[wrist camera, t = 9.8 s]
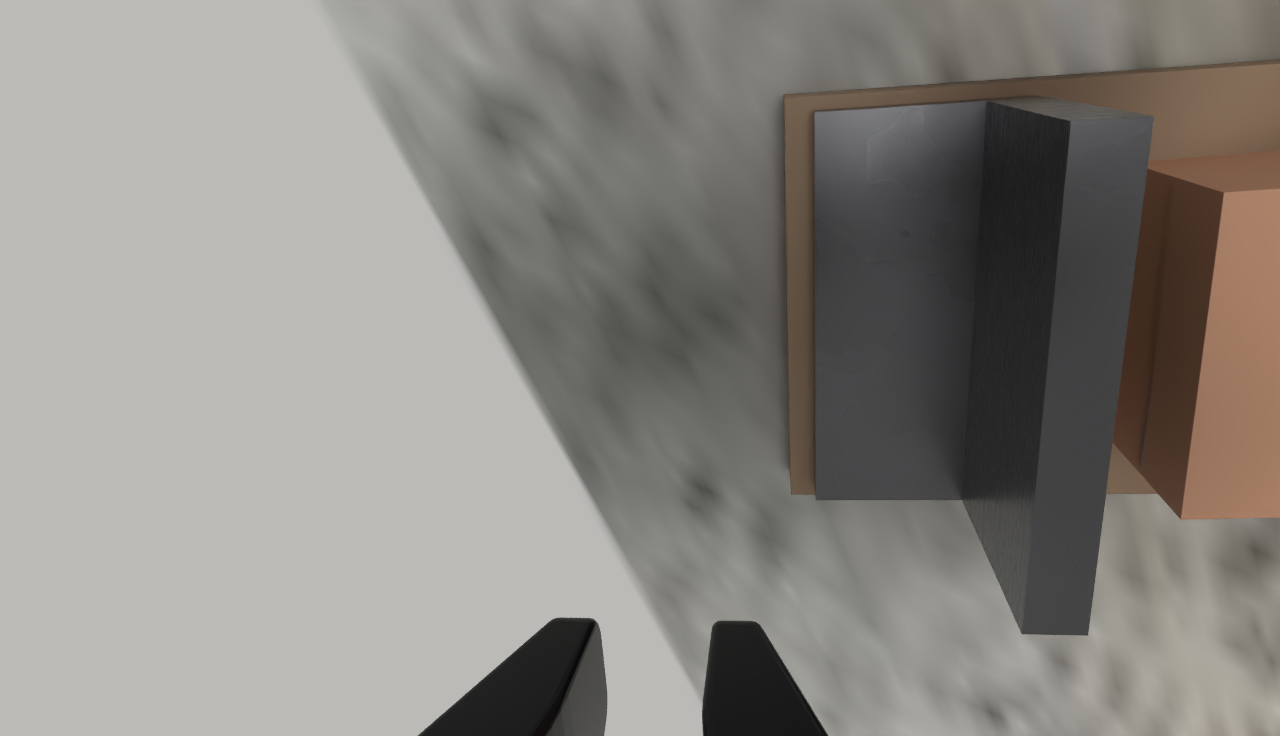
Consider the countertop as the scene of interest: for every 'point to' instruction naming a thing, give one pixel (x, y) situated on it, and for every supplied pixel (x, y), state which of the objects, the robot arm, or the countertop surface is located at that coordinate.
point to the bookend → (979, 322)
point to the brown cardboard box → (1206, 338)
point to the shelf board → (1177, 96)
